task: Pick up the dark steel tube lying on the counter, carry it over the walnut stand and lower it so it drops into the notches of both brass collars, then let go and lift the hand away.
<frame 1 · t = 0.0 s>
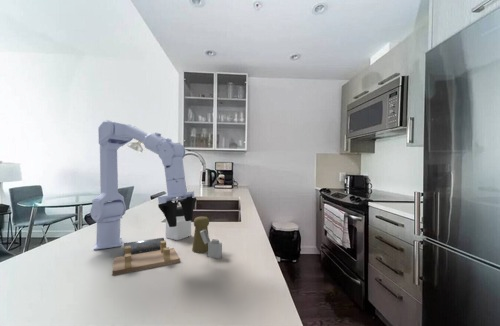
hand: (181, 223, 69), 11 cm above the counter, tool pointing down, fingers open, 7 cm apart
medicine bottle: (178, 237, 90), on the counter
cork: (201, 250, 76), on the counter
tube: (144, 251, 75), on the counter
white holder: (210, 256, 71), on the counter
stand: (146, 261, 66), on the counter
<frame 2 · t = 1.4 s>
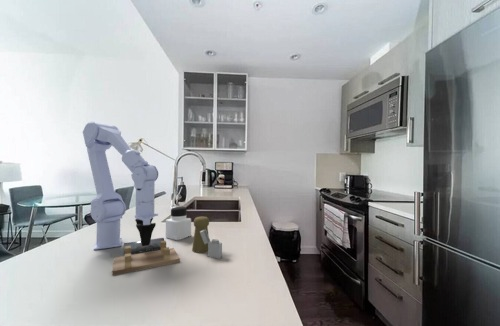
hand: (144, 242, 75), 3 cm above the counter, tool pointing down, fingers open, 7 cm apart
nothing on the counter moved.
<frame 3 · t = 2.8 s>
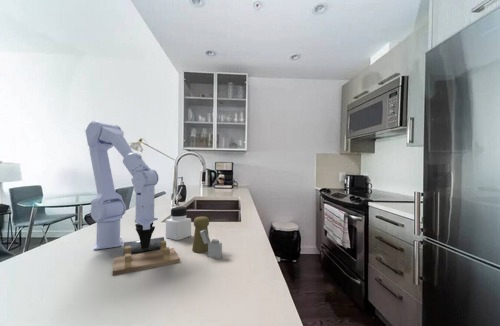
hand: (144, 246, 75), 1 cm above the counter, tool pointing down, fingers closed on tube, 4 cm apart
tube: (144, 250, 75), on the counter, touching gripper
everything else where it was.
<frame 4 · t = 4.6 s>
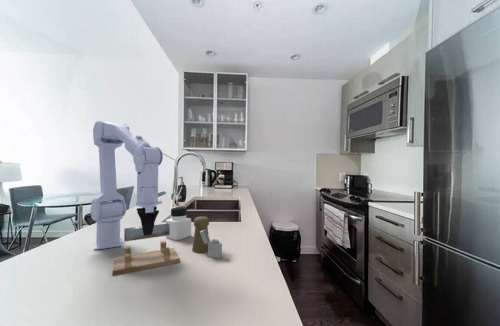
hand: (147, 233, 66), 8 cm above the counter, tool pointing down, fingers closed on tube, 4 cm apart
tube: (147, 238, 67), point 7 cm above the counter, touching gripper
everything else where it was.
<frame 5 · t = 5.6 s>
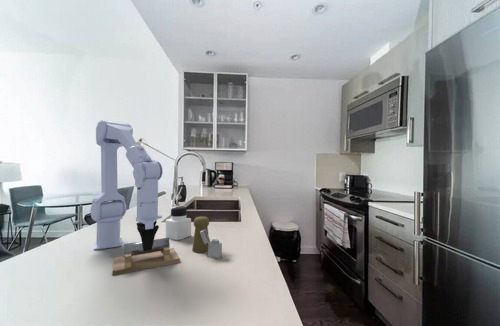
hand: (147, 247, 66), 4 cm above the counter, tool pointing down, fingers closed on tube, 4 cm apart
tube: (147, 253, 66), point 2 cm above the counter, touching gripper
everything else where it was.
when the fingers open (4 cm above the counter, at t = 6.4 s): tube drops 1 cm, resting on stand.
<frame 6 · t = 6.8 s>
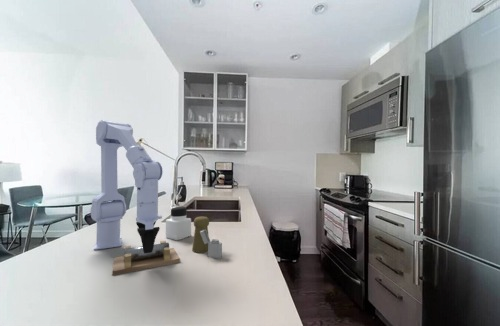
hand: (147, 248, 66), 4 cm above the counter, tool pointing down, fingers open, 7 cm apart
tube: (147, 258, 66), point 1 cm above the counter, touching stand
everything else where it was.
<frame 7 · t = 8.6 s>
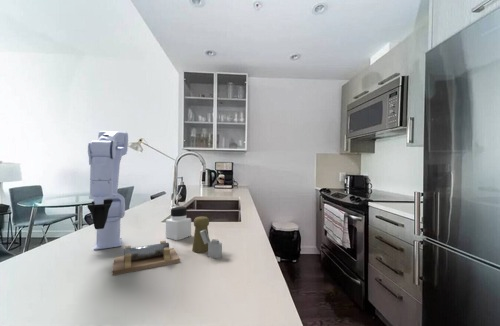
hand: (100, 225, 67), 10 cm above the counter, tool pointing down, fingers open, 7 cm apart
nothing on the counter moved.
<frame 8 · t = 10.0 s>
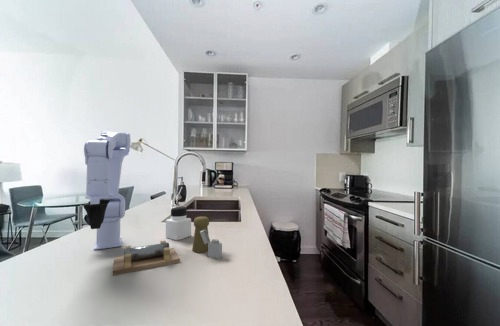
hand: (97, 225, 67), 10 cm above the counter, tool pointing down, fingers open, 7 cm apart
nothing on the counter moved.
at the end: tube 0.1 cm off-centre on the stand, point 1.0 cm above the stand's base; tube tilted 1°; the gripper is holding nothing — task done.
